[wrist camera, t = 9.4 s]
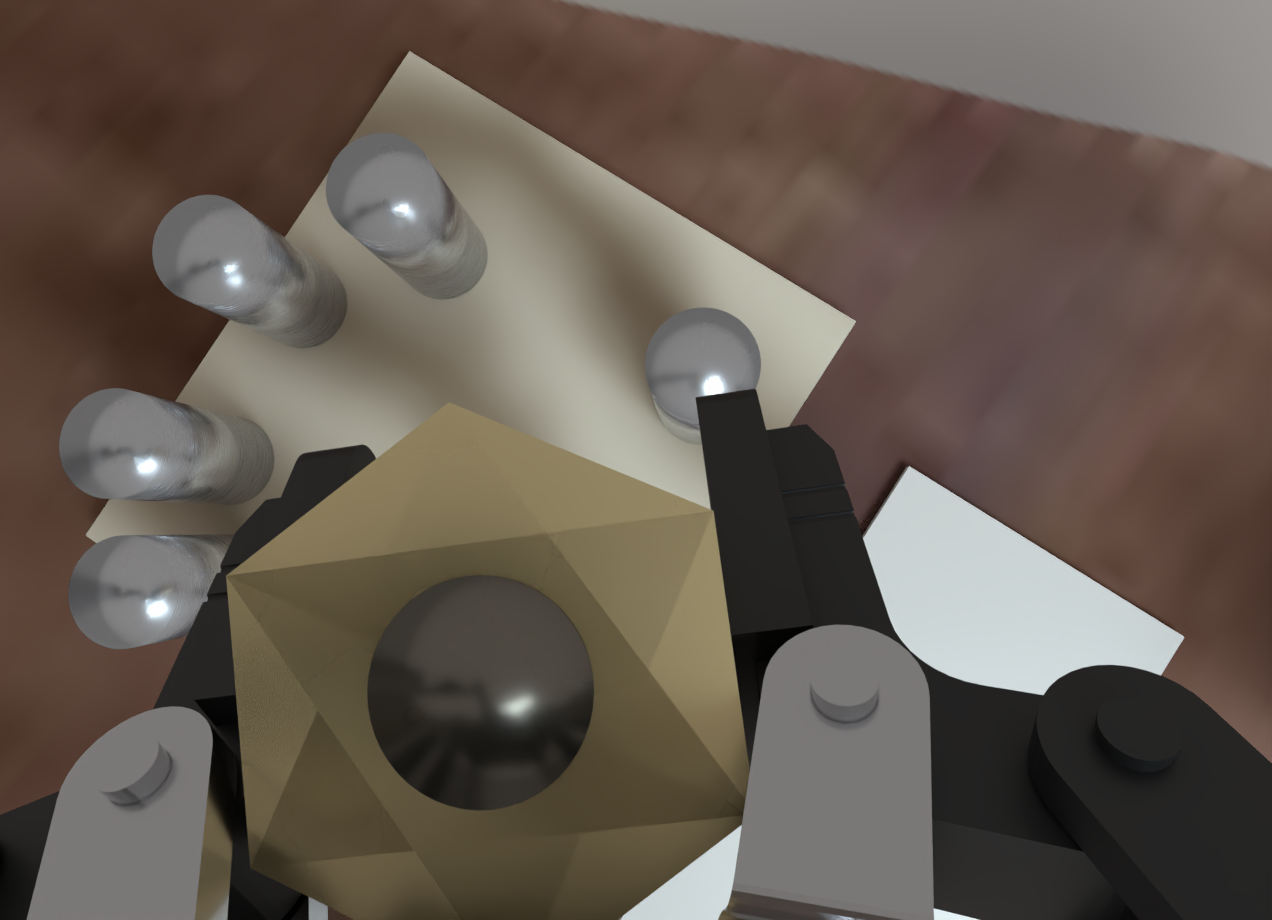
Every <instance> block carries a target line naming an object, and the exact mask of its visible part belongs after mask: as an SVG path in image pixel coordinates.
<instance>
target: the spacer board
mask: <svg viewBox="0 0 1272 920" xmlns="http://www.w3.org/2000/svg"><path fill="white" fill-rule="evenodd" d="M373 133H392V134H397V135H400V136H403V137H405V138H407V139H409V140H411V141H412V142H413V143H415V144H416V145H417V146H418V147H419V148H420V149H421V150H422V151H423V152H424V154H425V155H426V156H427V158H428V159H429V160H430V162H431V163H432V165H433V166H434V167H435V169H436V170H437V171H438V173H439V174H440V176H441V177H442V178H443V180H444V181H445V183H446V184H447V185H448V187H449V188H450V189H451V191H452V192H453V194H454V195H455V196H456V198H457V199H458V201H459V202H460V203H461V205H462V206H463V207H464V209H465V210H466V212H467V213H468V214H469V216H470V217H471V219H472V220H473V221H474V223H475V224H476V226H477V227H478V228H479V230H480V231H481V233H482V234H483V236H484V239H485V241H486V244H487V250H488V260H487V265H486V269H485V271H484V274H483V276H482V277H481V279H480V280H479V282H478V283H477V284H476V285H475V286H474V287H473V288H472V289H471V290H470V291H468V292H467V293H465V294H464V295H461V296H459V297H456V298H453V299H447V300H439V299H433V298H429V297H427V296H424V295H422V294H421V293H419V292H418V291H416V290H415V289H414V288H413V287H412V286H410V285H409V284H408V283H407V282H406V281H405V280H403V279H402V278H401V277H400V276H399V275H398V274H396V273H395V272H394V271H393V270H392V269H391V268H389V267H388V266H387V265H386V264H385V263H383V262H382V261H381V260H380V259H379V258H378V257H376V256H375V255H374V254H373V253H372V252H371V251H369V250H368V249H367V248H366V247H365V246H364V245H362V244H361V243H360V242H359V241H358V240H357V239H355V238H354V237H353V236H352V235H351V234H350V233H348V232H347V231H346V230H345V229H344V228H343V227H342V226H341V225H340V224H339V223H338V222H337V221H336V220H335V218H334V217H333V215H332V213H331V211H330V209H329V206H328V203H327V198H326V181H327V176H328V174H327V175H326V177H325V178H324V180H323V181H322V183H321V184H320V186H319V187H318V189H317V190H316V192H315V193H314V195H313V196H312V198H311V199H310V201H309V202H308V204H307V205H306V207H305V208H304V210H303V211H302V213H301V214H300V216H299V217H298V218H297V220H296V221H295V223H294V224H293V226H292V227H291V229H290V230H289V232H288V233H287V235H286V236H285V238H286V239H288V240H289V241H290V242H292V243H293V244H295V245H296V246H297V247H299V248H300V249H302V250H303V251H304V252H306V253H307V254H309V255H310V256H312V257H313V258H314V259H316V260H317V261H319V262H320V263H321V264H323V265H324V266H326V267H327V268H328V269H330V270H331V271H332V272H334V273H335V274H336V275H337V276H338V278H339V279H340V280H341V282H342V284H343V286H344V288H345V291H346V295H347V312H346V316H345V319H344V321H343V323H342V325H341V327H340V329H339V330H338V331H337V333H336V334H335V335H334V336H333V337H332V338H330V339H329V340H328V341H326V342H325V343H323V344H321V345H318V346H316V347H312V348H304V349H300V348H293V347H290V346H287V345H285V344H282V343H280V342H278V341H276V340H274V339H271V338H269V337H267V336H265V335H262V334H260V333H258V332H256V331H254V330H251V329H249V328H247V327H245V326H242V325H240V324H238V323H236V322H234V321H231V320H229V322H228V323H227V325H226V326H225V328H224V329H223V331H222V332H221V334H220V335H219V337H218V338H217V340H216V341H215V343H214V344H213V346H212V347H211V349H210V350H209V352H208V353H207V355H206V356H205V357H204V359H203V360H202V362H201V363H200V365H199V366H198V368H197V369H196V371H195V372H194V374H193V375H192V377H191V378H190V380H189V381H188V383H187V384H186V386H185V387H184V389H183V390H182V392H181V393H180V395H179V396H178V398H177V399H176V401H175V402H179V403H183V404H187V405H192V406H196V407H200V408H204V409H208V410H212V411H216V412H220V413H224V414H228V415H232V416H236V417H240V418H244V419H247V420H250V421H252V422H254V423H256V424H257V425H258V426H260V427H261V428H262V429H263V430H264V431H265V433H266V434H267V435H268V437H269V439H270V441H271V443H272V446H273V450H274V469H273V472H272V475H271V478H270V480H269V482H268V484H267V485H266V487H265V488H264V489H263V490H262V491H261V492H260V493H259V494H258V495H257V496H256V497H254V498H253V499H251V500H249V501H247V502H245V503H242V504H238V505H214V504H195V503H176V502H157V501H138V500H119V499H109V501H108V502H107V504H106V505H105V507H104V508H103V510H102V511H101V513H100V514H99V516H98V517H97V519H96V520H95V522H94V523H93V525H92V526H91V528H90V529H89V531H88V532H87V534H86V536H87V537H89V538H90V539H91V540H93V541H94V542H96V543H98V542H100V541H102V540H104V539H107V538H110V537H113V536H119V535H202V534H235V533H236V531H237V530H238V529H239V528H240V527H241V526H242V525H243V524H244V523H245V521H246V520H247V519H248V518H249V517H250V516H251V515H252V514H253V513H254V512H255V511H256V510H257V509H258V508H259V507H260V506H261V504H262V503H263V502H264V501H265V500H266V499H274V498H281V495H282V493H283V491H284V488H285V486H286V484H287V481H288V479H289V477H290V474H291V472H292V470H293V467H294V465H295V463H296V461H297V459H298V457H299V456H300V455H301V454H303V453H307V452H314V451H321V450H328V449H334V448H341V447H348V446H355V445H362V444H363V445H366V446H367V447H369V448H370V449H371V451H372V452H373V454H374V455H375V457H376V459H377V458H378V457H379V456H381V455H382V454H383V453H384V452H386V451H387V450H388V449H390V448H391V447H392V446H393V445H395V444H396V443H397V442H399V441H400V440H401V439H402V438H404V437H405V436H406V435H407V434H409V433H410V432H411V431H413V430H414V429H415V428H416V427H418V426H419V425H420V424H422V423H423V422H424V421H425V420H427V419H428V418H429V417H431V416H432V415H433V414H434V413H436V412H437V411H438V410H440V409H441V408H442V407H443V406H445V405H446V404H447V403H452V404H454V405H457V406H459V407H462V408H464V409H467V410H469V411H471V412H474V413H476V414H479V415H481V416H484V417H486V418H489V419H491V420H493V421H496V422H498V423H501V424H503V425H506V426H508V427H510V428H513V429H515V430H518V431H520V432H523V433H525V434H528V435H530V436H532V437H535V438H537V439H540V440H542V441H545V442H547V443H550V444H552V445H554V446H557V447H559V448H562V449H564V450H567V451H569V452H571V453H574V454H576V455H579V456H581V457H584V458H586V459H589V460H591V461H593V462H596V463H598V464H601V465H603V466H606V467H608V468H611V469H613V470H615V471H618V472H620V473H623V474H625V475H628V476H630V477H633V478H635V479H637V480H640V481H642V482H645V483H647V484H650V485H652V486H654V487H657V488H659V489H662V490H664V491H667V492H669V493H672V494H674V495H676V496H679V497H681V498H684V499H686V500H689V501H691V502H694V503H696V504H698V505H701V506H703V507H706V508H708V509H711V508H710V501H709V494H708V486H707V479H706V472H705V464H704V457H703V450H702V445H696V444H690V443H687V442H684V441H682V440H680V439H678V438H676V437H675V436H673V435H672V434H671V433H670V432H669V431H668V430H667V429H666V428H665V426H664V425H663V424H662V422H661V420H660V418H659V416H658V413H657V410H656V407H655V404H654V401H653V398H652V395H651V392H650V389H649V385H648V382H647V379H646V374H645V356H646V352H647V348H648V345H649V343H650V340H651V338H652V337H653V335H654V333H655V332H656V331H657V329H658V328H659V327H660V326H661V325H662V324H663V323H664V322H665V321H666V320H668V319H669V318H670V317H672V316H674V315H675V314H677V313H680V312H682V311H685V310H688V309H692V308H702V307H706V308H714V309H719V310H722V311H725V312H727V313H729V314H731V315H733V316H735V317H736V318H738V319H739V320H740V321H741V322H742V323H744V324H745V325H746V327H747V328H748V329H749V330H750V331H751V333H752V335H753V336H754V338H755V340H756V342H757V344H758V348H759V351H760V357H761V372H760V377H759V381H758V384H757V386H756V391H757V394H758V398H759V402H760V406H761V411H762V415H763V419H764V423H765V427H766V430H770V429H777V428H784V427H789V425H790V424H791V422H792V421H793V419H794V418H795V416H796V414H797V413H798V411H799V410H800V408H801V407H802V405H803V404H804V402H805V400H806V399H807V397H808V396H809V394H810V393H811V391H812V389H813V388H814V386H815V385H816V383H817V382H818V380H819V379H820V377H821V375H822V374H823V372H824V371H825V369H826V368H827V366H828V365H829V363H830V361H831V360H832V358H833V357H834V355H835V354H836V352H837V351H838V349H839V347H840V346H841V344H842V343H843V341H844V340H845V338H846V337H847V335H848V333H849V332H850V330H851V329H852V327H853V326H854V324H855V323H856V321H855V320H853V319H851V318H850V317H848V316H846V315H845V314H843V313H841V312H840V311H838V310H836V309H835V308H833V307H832V306H830V305H828V304H827V303H825V302H823V301H822V300H820V299H818V298H817V297H815V296H813V295H812V294H810V293H808V292H807V291H805V290H803V289H802V288H800V287H798V286H797V285H795V284H794V283H792V282H790V281H789V280H787V279H785V278H784V277H782V276H780V275H779V274H777V273H775V272H774V271H772V270H770V269H769V268H767V267H765V266H764V265H762V264H760V263H759V262H757V261H755V260H754V259H752V258H751V257H749V256H747V255H746V254H744V253H742V252H741V251H739V250H737V249H736V248H734V247H732V246H731V245H729V244H727V243H726V242H724V241H722V240H721V239H719V238H717V237H716V236H714V235H713V234H711V233H709V232H708V231H706V230H704V229H703V228H701V227H699V226H698V225H696V224H694V223H693V222H691V221H689V220H688V219H686V218H684V217H683V216H681V215H679V214H678V213H676V212H675V211H673V210H671V209H670V208H668V207H666V206H665V205H663V204H661V203H660V202H658V201H656V200H655V199H653V198H651V197H650V196H648V195H646V194H645V193H643V192H641V191H640V190H638V189H637V188H635V187H633V186H632V185H630V184H628V183H627V182H625V181H623V180H622V179H620V178H618V177H617V176H615V175H613V174H612V173H610V172H608V171H607V170H605V169H603V168H602V167H600V166H599V165H597V164H595V163H594V162H592V161H590V160H589V159H587V158H585V157H584V156H582V155H580V154H579V153H577V152H575V151H574V150H572V149H570V148H569V147H567V146H565V145H564V144H562V143H561V142H559V141H557V140H556V139H554V138H552V137H551V136H549V135H547V134H546V133H544V132H542V131H541V130H539V129H537V128H536V127H534V126H532V125H531V124H529V123H527V122H526V121H524V120H523V119H521V118H519V117H518V116H516V115H514V114H513V113H511V112H509V111H508V110H506V109H504V108H503V107H501V106H499V105H498V104H496V103H494V102H493V101H491V100H489V99H488V98H486V97H484V96H483V95H481V94H480V93H478V92H476V91H475V90H473V89H471V88H470V87H468V86H466V85H465V84H463V83H461V82H460V81H458V80H456V79H455V78H453V77H451V76H450V75H448V74H446V73H445V72H443V71H442V70H440V69H438V68H437V67H435V66H433V65H432V64H430V63H428V62H427V61H425V60H423V59H422V58H420V57H418V56H417V55H415V54H413V53H412V52H410V51H409V53H408V54H407V56H406V57H405V59H404V60H403V62H402V63H401V65H400V66H399V68H398V69H397V71H396V72H395V74H394V75H393V76H392V78H391V79H390V81H389V82H388V84H387V85H386V87H385V88H384V90H383V91H382V93H381V94H380V96H379V97H378V99H377V100H376V102H375V103H374V105H373V106H372V108H371V109H370V111H369V112H368V114H367V115H366V117H365V118H364V120H363V121H362V123H361V124H360V126H359V127H358V129H357V130H356V132H355V133H354V135H353V136H352V138H351V139H350V141H349V142H348V144H350V143H351V142H353V141H354V140H356V139H358V138H360V137H362V136H365V135H369V134H373ZM348 144H347V145H348ZM347 145H346V146H347Z"/></svg>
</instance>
